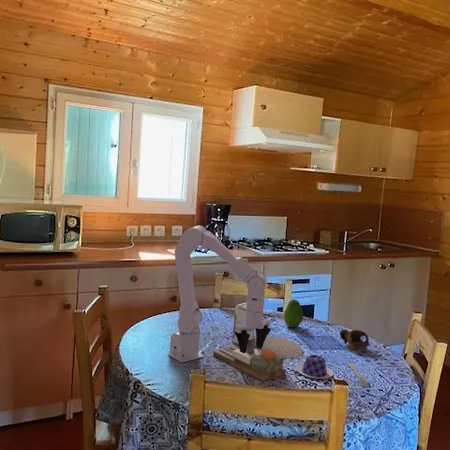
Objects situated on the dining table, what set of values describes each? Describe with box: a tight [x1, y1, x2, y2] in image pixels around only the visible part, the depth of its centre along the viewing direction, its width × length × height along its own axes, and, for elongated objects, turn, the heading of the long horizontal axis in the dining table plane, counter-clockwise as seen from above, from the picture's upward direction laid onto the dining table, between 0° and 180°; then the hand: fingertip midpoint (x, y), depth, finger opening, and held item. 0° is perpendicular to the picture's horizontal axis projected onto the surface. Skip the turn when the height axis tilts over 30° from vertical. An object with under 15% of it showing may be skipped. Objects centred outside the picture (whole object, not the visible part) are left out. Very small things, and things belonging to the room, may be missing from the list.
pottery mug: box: [339, 329, 370, 352], centre depth 187 cm, size 12×10×8 cm
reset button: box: [261, 348, 276, 360], centre depth 156 cm, size 3×3×3 cm
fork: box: [346, 362, 369, 388], centre depth 161 cm, size 3×21×3 cm, turn 179°
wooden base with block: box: [212, 345, 286, 382], centre depth 162 cm, size 10×24×6 cm, turn 42°
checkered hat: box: [295, 354, 334, 380], centre depth 161 cm, size 12×12×5 cm
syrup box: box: [231, 302, 255, 345], centre depth 182 cm, size 6×6×14 cm
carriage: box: [233, 337, 262, 365], centre depth 162 cm, size 8×8×7 cm
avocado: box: [283, 298, 304, 328], centre depth 206 cm, size 8×8×12 cm
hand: (250, 350), depth 162 cm, fingers open, 7 cm apart
